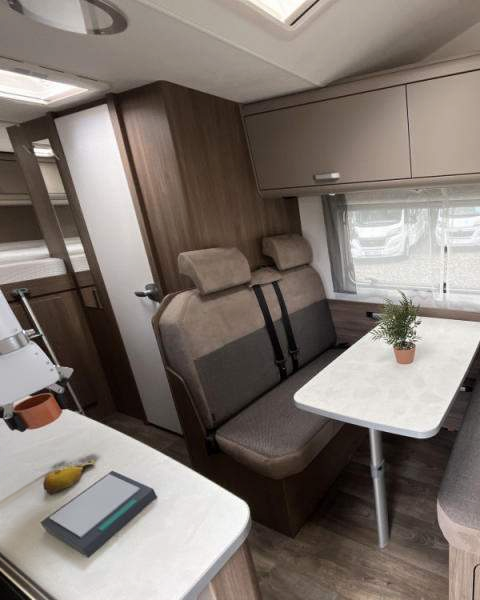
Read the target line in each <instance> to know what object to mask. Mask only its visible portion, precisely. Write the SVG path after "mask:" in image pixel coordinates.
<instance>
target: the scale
mask: <svg viewBox="0 0 480 600" xmlns="http://www.w3.org/2000/svg"><path fill="white" fill-rule="evenodd" d="M157 498H158V496H157V493H156V492H155V490H154V488H152V487H150V486H148V485H145V484H143V483H141V482H139V481H137V480H134V479H132V478H130V477H128V476H125V475H124V474H121V473H119V472H117V471H114V470H111V471H110V472H108V473H107V474H105V475H104V476H103V477H101V478H99V479H98V480H97V481H95V482H94V483H93V484H91V485H90V486H89V487H87V488H86V489H84V490H83V491H82V492H80V493H79V494H78V495H76V496H75V497H73V498H72V499H70V500H69V501H68V502H67V503H65V504H64V505H62V506H61V507H59V508H58V509H57V510H55V511H53V513H51V514H50V515H49V516H47V517H46V518H44V519H43V520H41V521H40V525H41V526H42V527H43V529H44V530H45V532H47V533H49V534H50V535H52V536H53V537H54V538H57V539H58V540H60V541H61V542H63V543H64V544H66V545H68V546H69V547H71V548H73V549H74V550H76V551H77V552H79V553H81V554H82V555H84V556H85V557H87V558H90V557H91V556H92V555H94V553H95V552H97V551H98V550H100V548H102V546H103V545H105V543H107V542H109V540H110V539H111V538H113V537H114V536H115V535H116V534H117V533H118V532H119V531H121V530H123V528H124V527H125V526H126V525H127V524H128V523H129V522H131V521H132V520H133V519H135V517H136V516H138V515H139V514H140V513H141V512H142V511H143V510H144V509H146V508H147V507H148V506H149V505H150V504H151V503H152V502H154V501H155V500H156V499H157Z"/></svg>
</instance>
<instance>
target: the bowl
mask: <svg viewBox="0 0 480 600" xmlns="http://www.w3.org/2000/svg"><path fill="white" fill-rule="evenodd" d="M13 413H14V414H16V415H18V416H19V417H20V419H21V421H22V422H23V424H24V425H25V427H26V428H27V429H26V430H28V431H29V430H30V431H31V430H37V429H41V428H43V427H45V426H47V425H50V424H52V423H54V422H55V421H57V420H58V419H59V418H60V417H61V415H62V414H63V410H62V409H61V407H60V405H59V404H58V402H57V400H56V398H55V397H54V395H53V394H52V393H50V392H46V393H45V392H44V393H40V394H36V395H33V396H29V397H28V398H25V399H23V400H21V401H20V402H18V403H17V404H15V405H13Z"/></svg>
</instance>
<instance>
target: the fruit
mask: <svg viewBox="0 0 480 600" xmlns="http://www.w3.org/2000/svg"><path fill="white" fill-rule="evenodd" d="M94 464H96V461H95V460H93V459H89V460H88V461H85V462H84V463H78V464H76V465H71V464H70V465H65V466H61V467H59V468H57V469H55V470H53V471H51V472H49V473H48V474H47V475H46V476H45V478H44V481H43V483H42V485H43V489H44V491H46V492H47V493H48V494H49V495H51V494H54V493H56V492H57V491H60V490H63V489H65V488H71V486H72V485H74V484H76V483H77V482H79V481H80V478H81V476H82V474H83V472H82V470H83V468H84V467H85V466H86V465H91V466H93V465H94Z"/></svg>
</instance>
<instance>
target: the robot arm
mask: <svg viewBox="0 0 480 600" xmlns="http://www.w3.org/2000/svg"><path fill="white" fill-rule="evenodd" d="M35 335H37V333H36V331H35V329H34V328H30V329H23V328H22V326H21V324H20V322H19V320H18V319H17V317H16V315H15V313H14V311H13V310H12V308H11V306H10V304H9V303H8V301H7V299H6V297H5V295H4V294H3V291H2V290H1V289H0V419H2V420H3V421H4V423H5V424H6V426H7V427H8V429H9V430H10V431H18V432H20V433H24V432H25V431H26V432H27V430H28V429H27V428H26V427H25V425H24V424H23V422H22V421H21V419H20V417H19V416H18V415H16V414H14V413H13V407H14V403H15V402H17V401H20V400H22V399H24V398H26V397H29V396H31V395H33V394H35V393H38V392H39V391H41V390H44V389H47V390H49V391H50V392H49V393H52V394H53V395H54V397H55V398H56V400H57V402H58V404H59V405H60V407H61V409H62V411H63V410H64V411H65V410H68V409H69V407H68V405H67V404H68V403H69V400H68V399H67V397H66V395H65V394H64V392H65V388H66V386H67V384H68V382H69V379H70V378H71V376H72V374H73V372H74V369H73V368H72V367H68V366H61V365H55V364H54V363H53V362H52V361H51V359H50V357H48V356H47V354H46V353H45V351H43V349H42V348H41V347H40V346H39V345H38V344H37V343H36V342H35V341H33V340H31V337H32V336H35ZM59 373H60V374H59Z"/></svg>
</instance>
